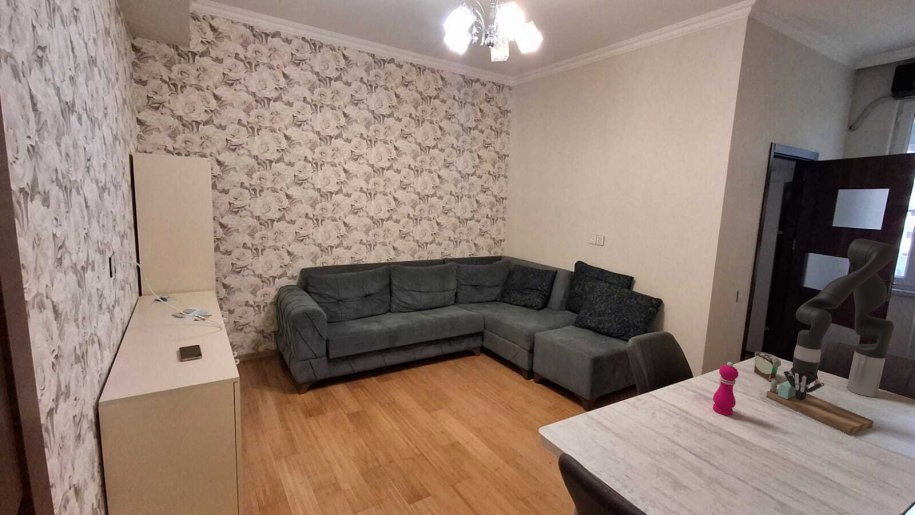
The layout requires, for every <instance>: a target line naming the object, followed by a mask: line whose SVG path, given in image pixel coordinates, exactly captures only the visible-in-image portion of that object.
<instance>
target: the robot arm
mask: <svg viewBox="0 0 915 515" xmlns="http://www.w3.org/2000/svg"><path fill="white" fill-rule="evenodd" d="M894 255H895V248H894V247H893V245H891V244H888V243H884V242H880V241H877V240H876V241H875V240H872V239H867V238H857V239H854V240H852V241H851V243H850V244H849V246H848V248H847V259H848V263H849V267H850V271H851V272H849V273H847V274H845V275H842V276H840V277H837V278H834V279H833V280H832V281H830V282H828V284H826V285H825V286H824V287H823V288H822V290H821V291H820V292H819V293H818V294H817V295H816V296H813V297H812V298H810V299H809V300H807V301H806V302H804V303H803V304H801V305H800V306H799V307H798V308H797V310H796V312H795V318H796V320H797V321H798V322H800V323H802V324H806V325H808V326H810V329H809V330H808V329H802V330H800V331H798V333H797V334H798V335H797V340H796V346H795V348H794V352H793V359H792V360H793V361H792V367H791V368H790V370H786V371H783V375H784V376H785V378H786V379H787V380H786V381H788V382H789V383H790V385H791V386H792V387H794V388H795V389H796V393H795V397H796V399H798V400H800V401H802V400H804V399H805V398H806V393H807V394H809V393H812V392H814V391H816V390H818V389H820V388H822V387H824V386H825V383H824V382H821V381H820V380H819V376H818V372H819V368H820V361H821V355H822V354H821V353H822V351H821V349H822V344H823V339H824V337H825V336H826V334H827V332H828V330H829V328H831V325H832V322H833V316H832V315H831V313H830V312H829V311H828V310H833V309H837V308H838V307H840V306H841V305H842V304H843V303H844V301H845V300H846V299H847V298H848V297H849V296H850V295H851V294H852V293H853V300H854V307H855V309H854V310H855V311H854V312H855V313H854V331H855V334H856V335H857V336H860V337H863V338H866V339H869V340H870V339H871V340H875V341H876V342H875V343H859V344H856V346H855V348H854V353H853V357H852V358H853V359H852V363H851V366H850V370H849V376H848V380H847V384H846V389H847V390H849V391H850V392H852V393H854V394H856V395H857V394H858V395H861V396H865V397H873V398H876V397H877V396H878V391H879V387H880V385H881V384H880V383H881V380H882V375H883V370H884V365H885V362H886V357H887V353H888V348H889V346H890V342H891V339H892V336H893V332H894V328H895V325H894V323H893V321H891V320H889V319H884V318H879V317H874V316H870V315H869V314H870V313H871V312H873V311H875V310H877V309H879V308H880V307H881V306H883V305H884V304H885V303H886V301H887V298H888V291H887V285H886V282H885V281H884V280H883V279H882V278H881V277H880V275H878V274H877V273H878V272H880V271H881V270H882V269H883V268H884V267H886V266H887V264H888V263H890V261H891V260H892V259H893V257H894ZM827 309H828V310H827ZM794 378H795V379H794ZM812 383H813V385H812V386H811V384H812ZM810 386H811V387H810Z"/></svg>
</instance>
